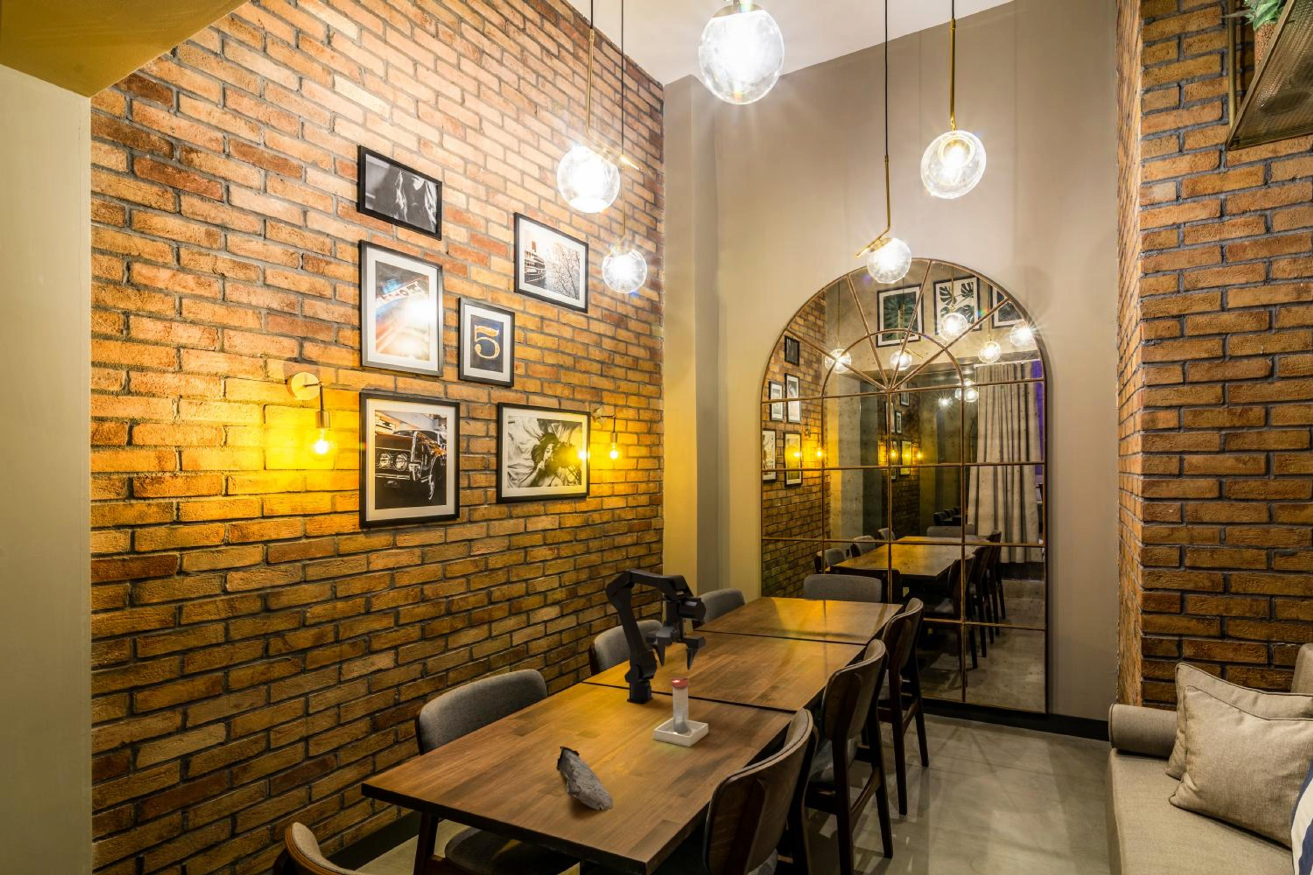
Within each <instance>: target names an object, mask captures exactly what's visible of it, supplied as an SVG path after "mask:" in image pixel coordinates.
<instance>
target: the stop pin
mask: <svg viewBox="0 0 1313 875" xmlns="http://www.w3.org/2000/svg"><path fill="white" fill-rule="evenodd" d="M670 686H671V687H672V715H673V716H672V718H673V728H672V729H671V730H670V733H675V734H680V735H685V736H690V735H691V734H692V730H691V729H690V728H689V724H688V720H689V695H688V694H689V686H690V679H689V678H688V677H682V676H681V677H680V676H679V677H674V678H671V679H670Z"/></svg>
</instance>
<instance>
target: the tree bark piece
mask: <svg viewBox="0 0 1313 875" xmlns="http://www.w3.org/2000/svg"><path fill="white" fill-rule="evenodd" d="M559 750H560V754H559V757H558V758H557V762H556V767H555V768H556V769H559V771H561V773H562V775H563V776H564V777H565V778H566V786H565V790H566V793H567V795H568V796H570V797H574V798H576V799H578V800H580V801H581V802H582V803H583V804H584V805H586V806H588V808H589V807H590V808H591V809H594V810H596V811H599V810H603V811H605V810H610V809H613V808H614V804H613V797H612V796H611V795H610V793H609V792H608V791H607V790H606V788H605V786H604V784H602V782H601V780H600V779H599V776H598V774H596V772H595V773H594V771H593V770H592V769H591V768H590V766H589V765H588V764H587V762H586V761H585V760H582V759H581V758H580V753H579V752H578V751H577V750H573V749H572V748H570V747H568V746H563V745H561V746H559ZM557 767H558V768H557ZM600 808H601V809H600Z"/></svg>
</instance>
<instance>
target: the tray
mask: <svg viewBox="0 0 1313 875" xmlns="http://www.w3.org/2000/svg"><path fill="white" fill-rule="evenodd" d="M688 724H689V728H690V729H691V730H692V734H691V735H690V736H685V735H680V734H675V733H670V730H671V729H672V728H673V717H671V718H670V719H668V720H666V721H665V722H663V723H662V724H661V725H659V726H657V727H656V728H653V732H652V734H653V735H652V736H653V740H656V741H660V742H663V743H664V742H665V743H668V742H669V744H673V745H679V746H682V747H686V748H690V747H692V746H693V745H694V744H696V743H697V742H699V741H700V740H701V739H702V738H704V737H705V736H706V735H707V734H709V723H705V722H701V721H700V722H699V721H696V720H691V719H688Z"/></svg>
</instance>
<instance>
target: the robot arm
mask: <svg viewBox="0 0 1313 875" xmlns="http://www.w3.org/2000/svg"><path fill="white" fill-rule="evenodd" d="M637 584H638V585H643V586H645V587H646V586H647V587H651V588H655V589H657V590H658V592H660V593H662V594H663V595H662V596H661V597H660V598H659V601H661V602H665V605H664V606H665V609H664V610H665V620H663V621H662V622H663V623H662V627H661V628H660V629H659V630H656V629H654V630H651V631H649V632H646V634H645V636H644V639H645V643H644V640H643V637H642V633H641V631H640V628H639V625H638V622H637V619H636V617H635V613H634V610H633V607H632V602H633V593H632V590H634V588H635V587H636V585H637ZM604 592H605V596H606V599H607V600H608V602H609V604H610V605H611V606H613V608H614V609H615V610H616V611H617V614H618V618H619V620H620V624H621V626H622V630H623V633H624V636H625V638H626V643H627V645H628V649H629V651H630V656H629V660H628V661H629V663H628V664H629V667H630V668H629V669H628V671H627V672H626V673H625V674H624V681H625V683H628V688H629V689H628V692H629V693H628V694H629V697H628V698H627V699H626V702H630V703H634V704H635V703H636V704H639V705H644V704H646V703H648V702H650V701H651V700H653V699H654V697H653V696H652V695H653V694H652V693H653V692H652V691H653V690H652V689H653V688H652V685H651V680H654V678H655V676H656V673H657V669H658V660H659V664H660V666H661V667H664V666H665V663H666V662H665V661H666V647H671V646H672V645H673V643H675V644H676V643H677V644H682V645H683V644H684V645H685V646H686V648H685V652H686V668H687V671H689V670H691V669H692V668H691V667H692V665H693V664H694V663H693V662H694V660H695V657H696V656H697V653H698V651H699V650H700V649H702V648H703V647H705V646H706V645H707V643H706V642H707V641H706V638H705V636H703V635H696V634H693V635H691V636H687V632H686V631H685V623H687V620H692V621H699V622H700V621H703V620H704V619H705V617H706V614H707V607H706V605H705V603H704V602H703V601H702V597H701V596H696V597H695V596H694V594H693V592H692V590H691V588H690V586H689V585H688V582H687V580H686V578H685V576H684V575H682V574H665V575H664V574H663V575H662V574H660V573H659V574H658V573H654V572H650V571H645V570H642V569H641V570H640V569H638V568H634V567H633V568H628V569H625V570H624V571H623V572H622V573H621V574H620V575H619V576H617V577H616V578H614V579H613V580H612V581H611V582H608V583H607V584H606V587H605V590H604ZM646 643H647V644H648V645H649V646H650V647H652V648H653V649H654V650H655V652H654V650H653V649H651V650H649V649H648V648H647V647H646V646H645V644H646ZM655 653H656V655H657V657H658V660H657V658H656V655H655Z"/></svg>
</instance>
